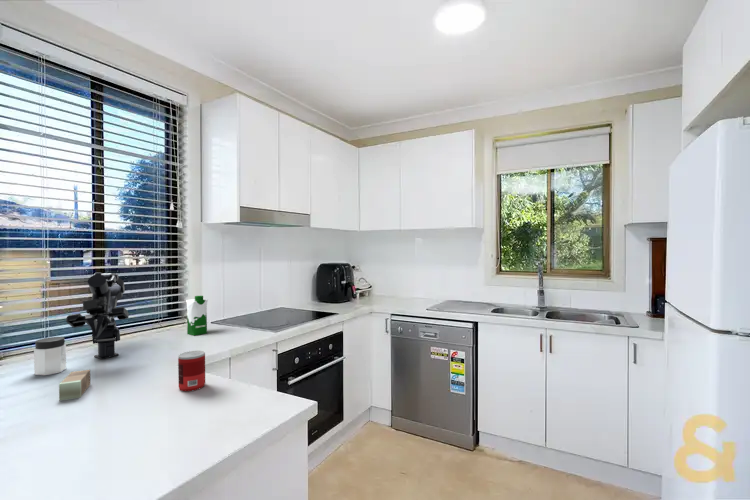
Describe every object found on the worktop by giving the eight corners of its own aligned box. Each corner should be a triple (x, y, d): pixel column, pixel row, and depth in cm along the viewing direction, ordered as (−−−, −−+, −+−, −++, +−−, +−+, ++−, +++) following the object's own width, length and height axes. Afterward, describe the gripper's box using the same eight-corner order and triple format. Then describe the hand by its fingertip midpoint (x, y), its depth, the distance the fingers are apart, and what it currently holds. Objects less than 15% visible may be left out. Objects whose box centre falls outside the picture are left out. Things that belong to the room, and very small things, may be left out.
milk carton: (193, 336, 190) (193, 297, 190) (184, 334, 195) (184, 296, 195) (209, 333, 197) (209, 295, 197) (200, 330, 202) (200, 294, 202)
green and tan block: (71, 371, 122) (59, 384, 112) (90, 369, 125) (79, 381, 114) (71, 387, 123) (59, 400, 112) (90, 384, 125) (80, 397, 114)
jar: (58, 374, 135) (58, 341, 134) (30, 377, 132) (30, 343, 132) (69, 366, 143) (69, 335, 143) (43, 369, 140) (42, 337, 140)
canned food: (210, 384, 124) (210, 351, 124) (191, 393, 117) (191, 358, 117) (192, 381, 127) (192, 349, 127) (173, 390, 119) (172, 356, 119)
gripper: (61, 294, 137) (54, 333, 129) (119, 286, 143) (116, 323, 134) (76, 308, 146) (70, 345, 138) (130, 300, 152) (127, 335, 143)
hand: (95, 337), depth 138 cm, fingers closed
